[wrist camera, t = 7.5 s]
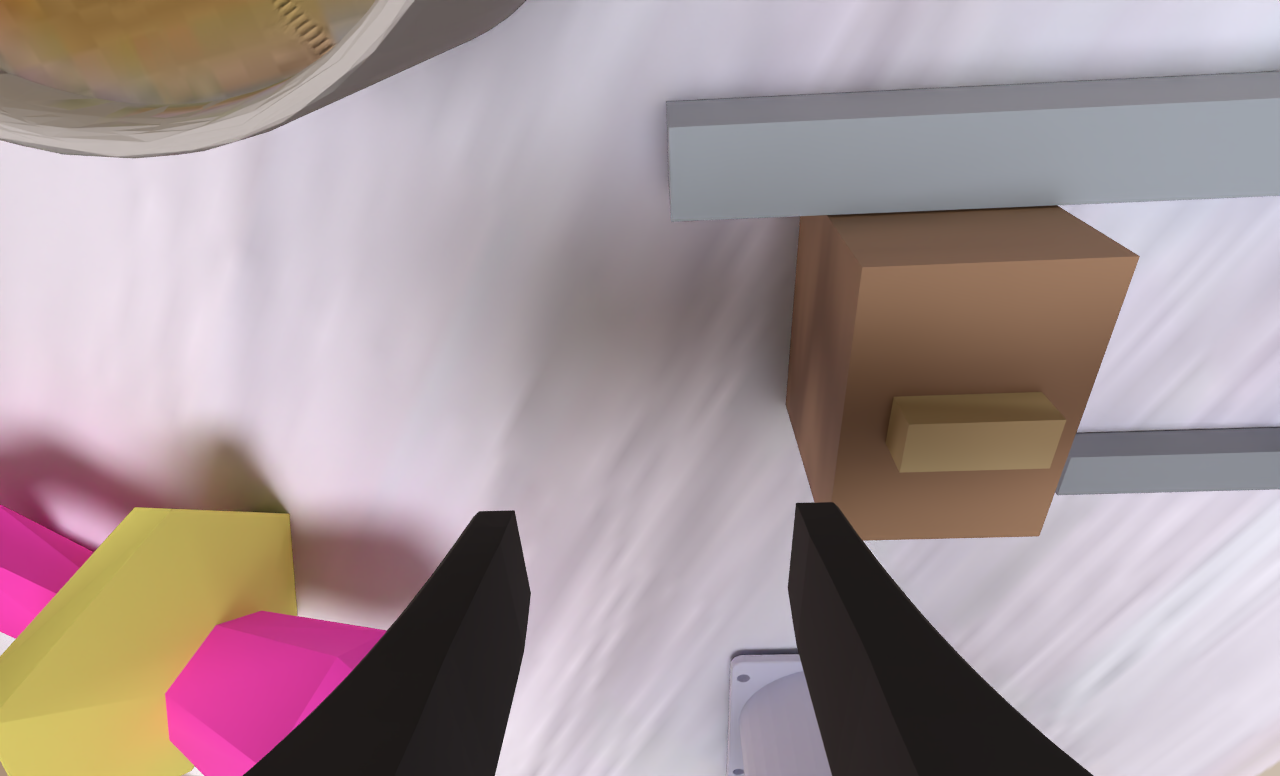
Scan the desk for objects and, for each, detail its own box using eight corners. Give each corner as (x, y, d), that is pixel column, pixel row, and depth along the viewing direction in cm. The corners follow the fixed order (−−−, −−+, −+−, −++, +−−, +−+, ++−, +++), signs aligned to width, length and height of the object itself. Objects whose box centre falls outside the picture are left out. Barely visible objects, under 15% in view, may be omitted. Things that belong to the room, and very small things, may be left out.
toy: (-30, 335, 21) (-432, 655, 16) (482, 547, 19) (219, 1024, 13) (140, 480, 30) (-83, 723, 24) (512, 641, 27) (359, 958, 21)
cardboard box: (947, 397, 21) (1060, 568, 15) (785, 403, 21) (835, 572, 16) (999, 169, 18) (1174, 277, 12) (802, 178, 18) (876, 289, 12)
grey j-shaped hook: (1321, 462, 22) (1407, 528, 20) (676, 480, 23) (679, 545, 20) (1571, 56, 16) (1747, 75, 13) (666, 101, 17) (668, 127, 14)
